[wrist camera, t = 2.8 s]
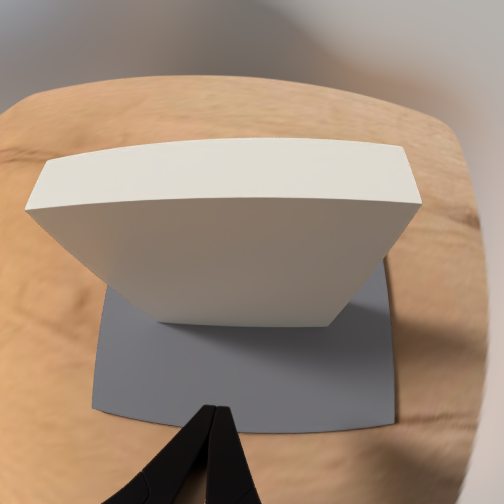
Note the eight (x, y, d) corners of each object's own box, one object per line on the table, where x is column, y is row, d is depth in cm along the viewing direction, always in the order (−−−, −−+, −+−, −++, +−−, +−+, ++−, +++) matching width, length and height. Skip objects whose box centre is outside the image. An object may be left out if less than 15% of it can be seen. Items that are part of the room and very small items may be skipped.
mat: (390, 422, 14) (394, 423, 14) (96, 408, 15) (91, 408, 15) (367, 194, 21) (369, 190, 21) (133, 195, 22) (131, 191, 22)
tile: (327, 326, 17) (422, 203, 6) (157, 322, 17) (24, 209, 6) (326, 294, 17) (400, 142, 7) (161, 291, 18) (49, 156, 7)
